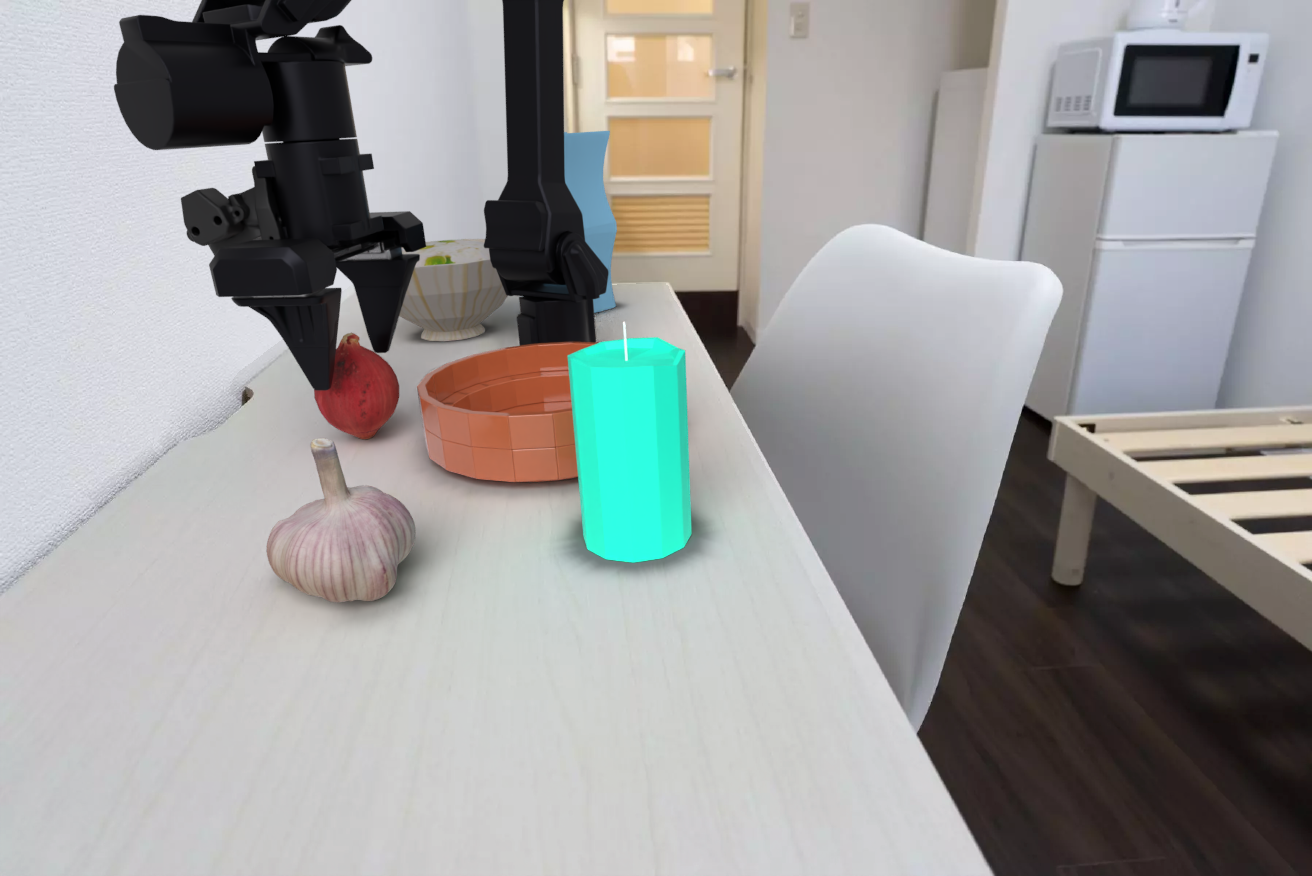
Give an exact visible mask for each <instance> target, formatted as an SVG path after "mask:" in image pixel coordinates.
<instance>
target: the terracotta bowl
mask: <svg viewBox="0 0 1312 876" xmlns="http://www.w3.org/2000/svg"><path fill="white" fill-rule="evenodd" d="M597 343H598V342H597V341H596V342H555V343H538V344H537V343H536V344H529V345H521V346H520V345H513V346H507V347H501V348H496V349H491V350H487V351H483V352H478V353H474V354H473V353H472V354H469V355H467V356H464V357H462V358H458V359H455V360H453V361H449V362H446V363H444V364H442V365H441V366H439V367H437V368H435V369H433V370H431V371H429V372H428V373H427V374H425V375H424V376H423V378H422V379H421V380H420V382H419V383H418V384H417V385H416V391H417V398H418V403H419V410H420V416H421V423H422V429H423V436H424V442H425V447H426V451H427V454H428V458H429V459H430V460H431V461H433V462H434V463H435V464H436V465H438V466H439V467H441V468H443V469H444V470H446V471H447V472H450V473H455V474H458V475H462V476H465V477H467V478H472V479H476V480H485V481H497V482H510V483H541V482H542V483H543V482H556V481H562V480H563V481H565V480H570V479H576V478H578V470H577V459H576V447H575V436H574V425H573V413H572V402H571V391H570V379H569V368H568V357H567V355H570V354H572V353H574V352H577V351H579V350H581V349H584V348H587V347H589V346H592V345H595V344H597Z"/></svg>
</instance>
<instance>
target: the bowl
mask: <svg viewBox="0 0 1312 876" xmlns="http://www.w3.org/2000/svg"><path fill="white" fill-rule="evenodd" d="M425 242H426V247H424V248H422V249H419V250H417V251H415V252H406V251H405V250H404V248H403V247H401V248H402V254H420V260H419V261H418V262H417V263H416V266H415V268H414V271H413V274H412V277H411V280H410V283H409V286H408V289H407V292H406V295H405V298H404V302H403V305H402V308H401V311H400V315H399V318H402V319H405V320H406V321H408V322H410V323H412V324H414V325H415V326H418V327H420V328H422V329H423V330H422V332H421V335H420V339H422V340H425V341H430V342H451V341H462V340H467V339H471V338H475V337H478V336H479V335H482V334H484V333H485V332H486V328H485V326H484V325H482V324H481V323H482V322H483V321H484V320H486V319H487V318H489V316H490V315H492V314H493V313H494V312H496V311H497V310H498V309H499V308H500V307H501V306H502V305H503V304H504V303H505V301H506V300H507V298H508V297H509V296H507V295H506V293H505V291H504V288H503V286H502V283H501V281H500V278H499V275H498V273H497V270H496V269H494V268H493V267H492V264H491V261H490V255H489V248H484V242H485V238H461V239H460V238H458V239H444V240H430V241H425Z"/></svg>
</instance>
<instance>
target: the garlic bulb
mask: <svg viewBox="0 0 1312 876" xmlns="http://www.w3.org/2000/svg"><path fill="white" fill-rule="evenodd" d="M336 447H337V446H336V444H335V442H334V441H333V440H331V439H328V438H326V437H323V438H321V437H320V438H314V439H312V440H311V442H310V450H311V454H312V456H313V459H314V463H315V467H316V471H317V474H318V479H319V483H320V484H319V485H320V486H321V491H322V494H323V498H319V499H315V500H313V501H312V502H309V503H306V504H303V505H302V506H300V507H299V508H298V509H296V510H295V512H294V513H293V514H291V515H290V516H288V517H287V518H284V519H281V520H278V521H277V523H275V524H274V526H273V527H272V529H271V530H270V532H269V535H268V538H267V542H266V556H267V561H268V564H269V565H270V568H271V570H272V572H274V574H275V575H276V576H277V577H278V578H279V579H281V580H282V581H284V582H286V583H288V584H290V585H291V586H293V587H294V588H295V589H296V590H298V591H299V592H301V593H303V594H305V595H309V596H312V597H319V598H323V599H324V600H325V601H328V602H331V603H344V602H352V603H353V602H355V601H362V602H363V601H364V602H374V601H377V600H379V599H381V598H383V597H385V596H387V595H388V594H389V593H390V591H391V590H392V589H393V588H394V587H395V585H396V582H397V577H398V567H399V564H401V563H402V562H403V561H404V560H405V559H406V558H407V557H408V555H409V554H410V552H411V551H412V549H413V547H414V545H415V541H416V533H417V532H416V525H415V521H414V518H413V517H412V514H411V512H410V511H409V510H408V508H407V507H406V505H405V504H403V503H402V501H401V500H399V499H398V498H396V497H394V496H393V495H391V494H389V493H386V492H384V491H382V490H381V489H379V488H377V487H375V486H371V485H367V484H365V485H364V484H362V485H358V486H353V487H351V486H350V487H348V485H347V482H346V478H345V475H344V472H343V469H342V466H341V465H342V464H341V462H340V461H341V460H340V457H339V454H338V451H337V448H336Z"/></svg>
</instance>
